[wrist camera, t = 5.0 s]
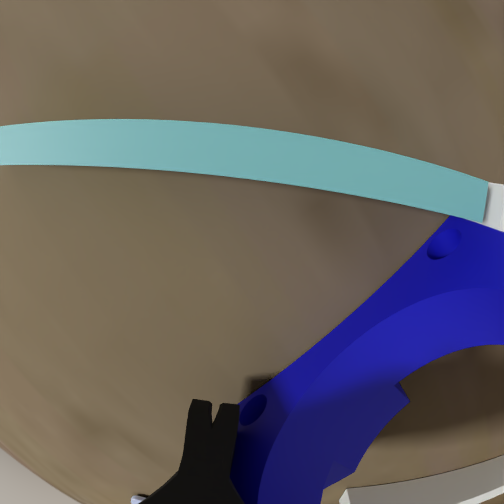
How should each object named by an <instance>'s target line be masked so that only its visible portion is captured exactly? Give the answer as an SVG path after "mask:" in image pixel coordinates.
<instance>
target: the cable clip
mask: <svg viewBox="0 0 504 504" xmlns="http://www.w3.org/2000/svg"><path fill="white" fill-rule="evenodd" d="M498 344H500V345H504V232H502V231H499V230H496V229H493V228H490V227H488V226H485V225H482V224H479V223H476V222H473V221H470V220H467V219H464V218H460V217H456V216H452V215H450V216H449V217H448V218H447V220H446V221H445V222H444V223H443V224H442V225H441V226H440V227H439V228H438V229H437V231H436V232H435V233H434V234H433V235H432V236H431V237H430V238H429V239H428V240H427V241H426V242H425V243H424V244H423V245H422V246H421V247H420V249H419V250H418V251H417V252H416V253H415V254H414V255H413V256H412V257H411V258H410V259H409V260H408V261H407V262H406V263H405V264H404V265H403V266H402V267H401V268H400V269H399V270H398V271H397V272H396V273H395V274H394V275H393V276H392V277H391V278H390V279H388V280H387V281H386V282H385V283H384V284H383V285H382V286H381V287H380V288H379V289H378V290H377V291H376V292H375V293H374V294H373V295H372V296H371V297H369V298H368V299H367V300H366V301H365V302H364V303H363V304H362V305H361V306H360V307H358V308H357V309H356V310H355V311H354V312H353V313H352V314H351V315H350V316H348V317H347V318H346V319H345V320H344V321H343V322H342V323H340V324H339V325H338V326H337V327H336V328H335V329H333V330H332V331H331V332H330V333H329V334H328V335H326V336H325V337H324V338H323V339H322V340H320V341H319V342H318V343H317V344H316V345H314V346H313V347H312V348H311V349H310V350H308V351H307V352H306V353H305V354H303V355H302V356H301V357H300V358H298V359H297V360H296V361H295V362H293V363H292V364H291V365H290V366H288V367H287V368H286V369H284V370H283V371H282V372H280V373H279V374H278V375H277V376H275V377H274V378H273V379H271V380H270V381H269V382H267V383H266V384H265V385H263V386H262V387H261V388H259V389H258V390H256V391H255V392H254V393H252V394H251V395H250V396H248V397H247V398H245V399H244V400H243V401H241V402H240V403H238V404H237V405H240V416H239V424H238V431H237V438H236V445H235V452H234V457H233V462H232V467H231V472H230V479H231V481H232V483H233V485H234V486H235V488H236V490H237V492H238V494H239V495H240V497H241V498H242V500H243V502H244V503H245V504H320V503H321V498H322V493H323V489H325V488H326V487H328V486H330V485H332V484H334V483H336V482H338V481H339V480H341V479H343V478H345V477H347V476H348V475H350V474H352V473H354V472H355V470H356V468H357V466H358V464H359V462H360V460H361V459H362V457H363V455H364V454H365V452H366V450H367V449H368V447H369V446H370V444H371V443H372V441H373V440H374V439H375V437H376V436H377V435H378V434H379V432H380V431H381V430H382V429H383V428H384V426H385V425H386V424H387V423H388V422H389V421H390V420H391V419H392V418H393V417H394V416H395V415H396V414H397V413H398V412H399V411H400V410H401V409H402V408H403V407H405V406H406V405H407V404H408V403H409V402H410V400H409V399H408V397H407V395H406V394H405V392H404V390H403V389H402V387H401V385H400V384H399V381H401V380H402V379H403V378H405V377H406V376H408V375H409V374H411V373H412V372H414V371H415V370H417V369H418V368H420V367H422V366H424V365H425V364H427V363H429V362H431V361H433V360H435V359H437V358H439V357H441V356H444V355H447V354H449V353H452V352H455V351H458V350H461V349H465V348H469V347H474V346H481V345H498Z"/></svg>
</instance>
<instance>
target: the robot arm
mask: <svg viewBox="0 0 504 504" xmlns="http://www.w3.org/2000/svg"><path fill="white" fill-rule="evenodd" d="M211 413H212V403H211V402H210V401H204V400H197V399H193V400H192V403H191V405H190V408H189V411H188V419H187V426H186V434H185V443H184V450H183V456H182V460H181V463H180V467H179V470H178V471H177V472H176V473H175V474H174V475H173V476H172V477H171V478H170V479H169V480H168V481H167V482H166V483H165V484H164V485H163V486H161V487H160V488H159V489H158V490H156V491H155V492H154V493H152V494H151V495H150V496H148V497H147V498H145V497H141V496H132V498H131V503H132V504H245V503H244V502H243V500H242V498H241V497H240V495H239V494H238V492H237V490H236V488H235V486H234V485H233V483H232V481H231V479H230V472H231V467H232V462H233V457H234V452H235V445H236V438H237V431H238V424H239V416H240V405H237V404H228V403H222V404H221V405H220V407H219V410H218V413H217V415H216V418H215V420H214V422H213V423H212V414H211Z"/></svg>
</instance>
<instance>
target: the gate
mask: <svg viewBox="0 0 504 504" xmlns="http://www.w3.org/2000/svg"><path fill="white" fill-rule="evenodd" d="M0 165H79V166H104V167H123V168H140V169H154V170H167V171H178V172H189V173H200V174H210V175H219V176H228V177H237V178H245V179H253V180H261V181H268V182H276V183H283V184H290V185H296V186H303V187H310V188H316V189H322V190H328V191H334V192H340V193H346V194H351V195H357V196H362V197H368V198H373V199H378V200H383V201H388V202H393V203H398V204H403V205H408V206H412V207H417V208H422V209H426V210H431V211H435V212H439V213H444V214H448V215H452V216H456V217H460V218H464V219H468V220H472V221H476V222H480V223H482V221H483V216H484V210H485V204H486V197H487V190H488V183H489V182H487V181H484V180H482V179H479V178H476V177H473V176H470V175H467V174H464V173H461V172H458V171H455V170H451V169H448V168H445V167H442V166H438V165H435V164H432V163H428V162H425V161H421V160H417V159H414V158H410V157H406V156H403V155H399V154H395V153H391V152H387V151H382V150H378V149H374V148H370V147H365V146H361V145H356V144H351V143H346V142H341V141H336V140H331V139H326V138H320V137H315V136H309V135H303V134H297V133H290V132H284V131H277V130H270V129H262V128H254V127H246V126H237V125H227V124H216V123H204V122H190V121H173V120H146V119H92V120H67V121H50V122H37V123H26V124H17V125H8V126H0Z"/></svg>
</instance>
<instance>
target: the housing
mask: <svg viewBox="0 0 504 504" xmlns="http://www.w3.org/2000/svg"><path fill="white" fill-rule="evenodd" d="M467 220H468V219H467ZM470 221H472V220H470ZM473 222H476V221H473ZM476 223H479V224H482V225H485V226H488V227H490V228H493V229H496V230H499V231H502V232H504V185H503V184H495V183H488V190H487V197H486V204H485V210H484V216H483V221H482V223H480V222H476ZM502 493H504V455H502V456H499V457H497V458H494V459H491V460H488V461H485V462H482V463H479V464H475V465H472V466H469V467H465V468H462V469H458V470H454V471H450V472H447V473H442V474H438V475H434V476H429V477H425V478H420V479H415V480H409V481H404V482H398V483H391V484H384V485H377V486H368V487H359V488H347V489H346V490H345V492H344V493H343V495H342V497H341V498H340V500H339V503H340V504H478V503H481V502H483V501H486V500H488V499H491V498H493V497H495V496H497V495H500V494H502Z"/></svg>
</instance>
